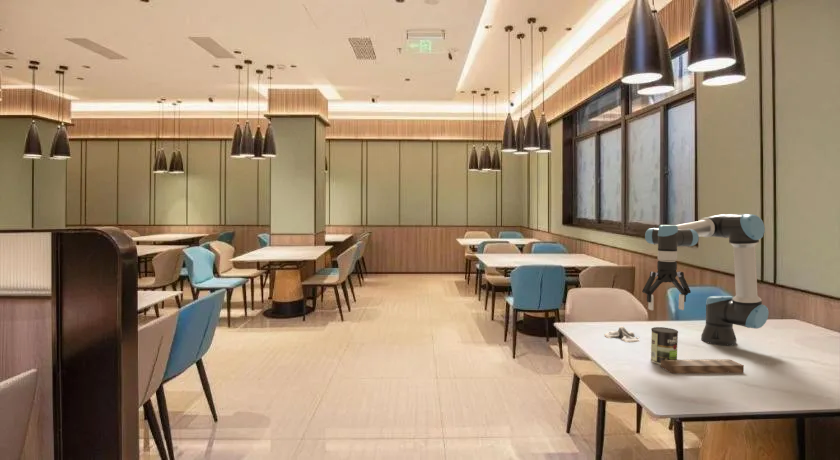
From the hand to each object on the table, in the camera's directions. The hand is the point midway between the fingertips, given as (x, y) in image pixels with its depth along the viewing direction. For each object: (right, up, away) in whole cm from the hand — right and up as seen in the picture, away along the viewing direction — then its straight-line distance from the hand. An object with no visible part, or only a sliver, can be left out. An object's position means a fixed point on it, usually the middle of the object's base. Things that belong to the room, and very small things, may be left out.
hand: (666, 309), depth 208 cm
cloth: (0, -22, +43) cm, 48 cm away
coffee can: (-1, -23, 0) cm, 23 cm away
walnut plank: (+10, -23, -10) cm, 27 cm away
